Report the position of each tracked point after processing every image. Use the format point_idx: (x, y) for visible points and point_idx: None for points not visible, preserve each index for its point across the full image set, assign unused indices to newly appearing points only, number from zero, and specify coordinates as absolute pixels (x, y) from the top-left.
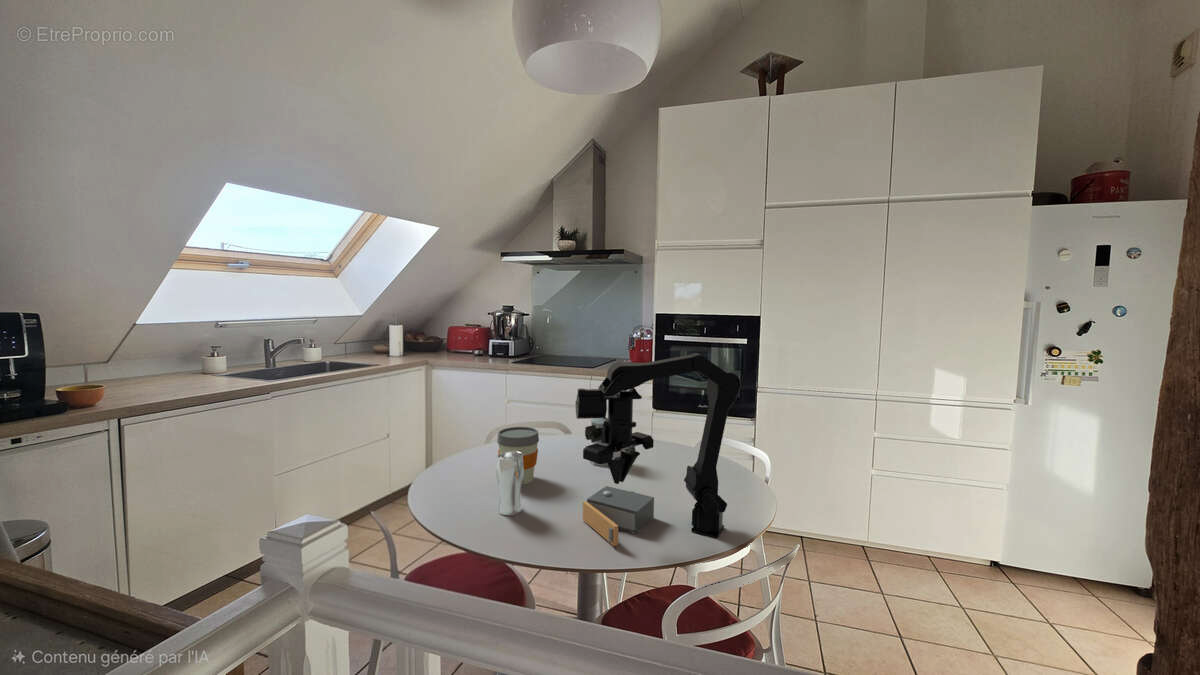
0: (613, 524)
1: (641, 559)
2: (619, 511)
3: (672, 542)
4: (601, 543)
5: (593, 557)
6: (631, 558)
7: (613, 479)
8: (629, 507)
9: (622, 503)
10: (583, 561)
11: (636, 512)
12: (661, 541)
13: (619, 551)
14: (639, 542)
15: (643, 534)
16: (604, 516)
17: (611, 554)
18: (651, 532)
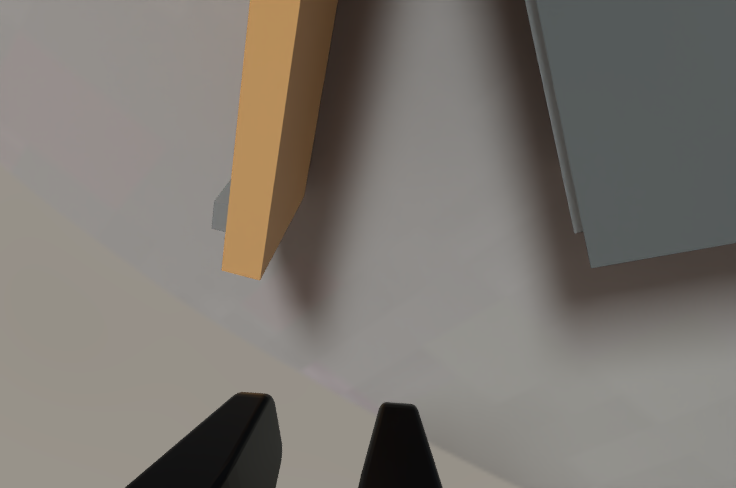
0: (239, 241)
1: (324, 364)
2: (537, 51)
3: (639, 389)
4: None
5: (92, 167)
6: (285, 324)
7: (191, 439)
8: (630, 145)
9: (677, 2)
10: (15, 156)
11: (589, 254)
12: (600, 339)
13: None
14: (475, 250)
15: None
16: (273, 66)
17: None
18: None
